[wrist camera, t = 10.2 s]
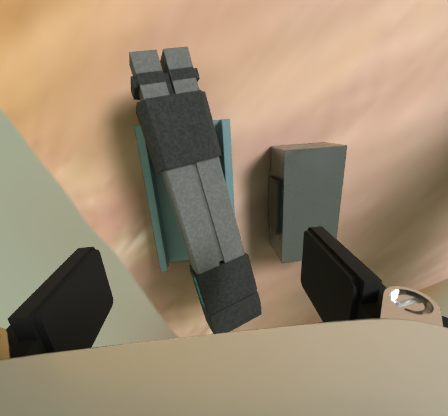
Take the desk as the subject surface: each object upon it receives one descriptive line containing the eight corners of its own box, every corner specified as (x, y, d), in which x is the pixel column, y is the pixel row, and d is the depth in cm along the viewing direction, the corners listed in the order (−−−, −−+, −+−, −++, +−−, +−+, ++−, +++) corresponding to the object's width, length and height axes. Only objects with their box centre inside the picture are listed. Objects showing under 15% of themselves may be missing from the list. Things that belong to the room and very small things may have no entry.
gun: (194, 308, 24) (227, 364, 14) (129, 120, 23) (120, 48, 13) (233, 289, 25) (286, 329, 16) (173, 112, 24) (192, 42, 15)
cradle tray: (226, 119, 20) (229, 119, 18) (233, 252, 24) (237, 263, 22) (140, 125, 19) (134, 125, 17) (163, 260, 24) (161, 272, 22)
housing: (324, 142, 22) (347, 145, 18) (316, 239, 25) (334, 256, 22) (266, 146, 21) (279, 150, 18) (266, 244, 24) (277, 263, 21)
